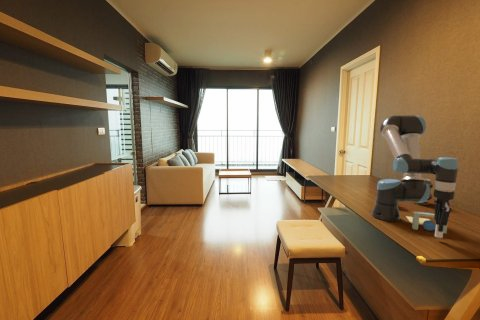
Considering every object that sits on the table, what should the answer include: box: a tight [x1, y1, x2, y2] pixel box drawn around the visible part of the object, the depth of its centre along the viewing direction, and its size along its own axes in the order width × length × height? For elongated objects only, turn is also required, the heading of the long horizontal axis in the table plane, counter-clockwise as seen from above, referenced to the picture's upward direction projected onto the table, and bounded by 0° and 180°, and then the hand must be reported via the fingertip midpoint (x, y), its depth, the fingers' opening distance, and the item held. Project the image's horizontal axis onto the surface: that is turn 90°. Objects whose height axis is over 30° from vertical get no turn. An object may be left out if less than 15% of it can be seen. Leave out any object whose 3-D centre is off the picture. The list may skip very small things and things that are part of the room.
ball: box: [422, 220, 436, 232], centre depth 131 cm, size 6×6×6 cm
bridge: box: [411, 210, 449, 235], centre depth 130 cm, size 3×14×9 cm, turn 69°
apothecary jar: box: [416, 178, 434, 206], centre depth 178 cm, size 12×12×18 cm
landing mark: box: [405, 215, 432, 226], centre depth 144 cm, size 12×12×1 cm
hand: (438, 236), depth 119 cm, fingers closed
